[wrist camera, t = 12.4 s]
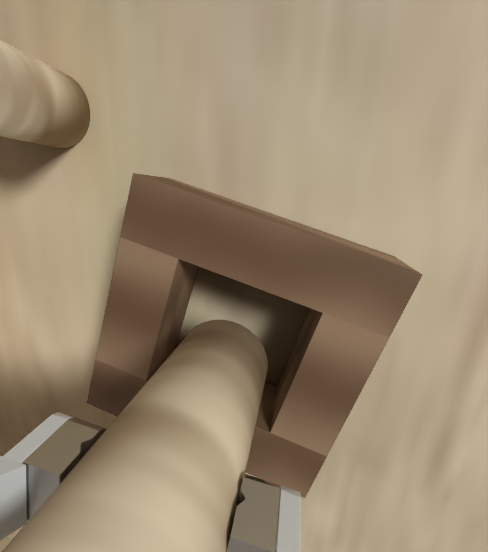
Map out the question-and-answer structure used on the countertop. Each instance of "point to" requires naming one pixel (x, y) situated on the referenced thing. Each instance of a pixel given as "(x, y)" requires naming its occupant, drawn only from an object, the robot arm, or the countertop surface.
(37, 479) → the robot arm
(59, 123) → the short pin
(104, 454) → the long pin
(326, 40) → the countertop surface
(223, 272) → the walnut collar
